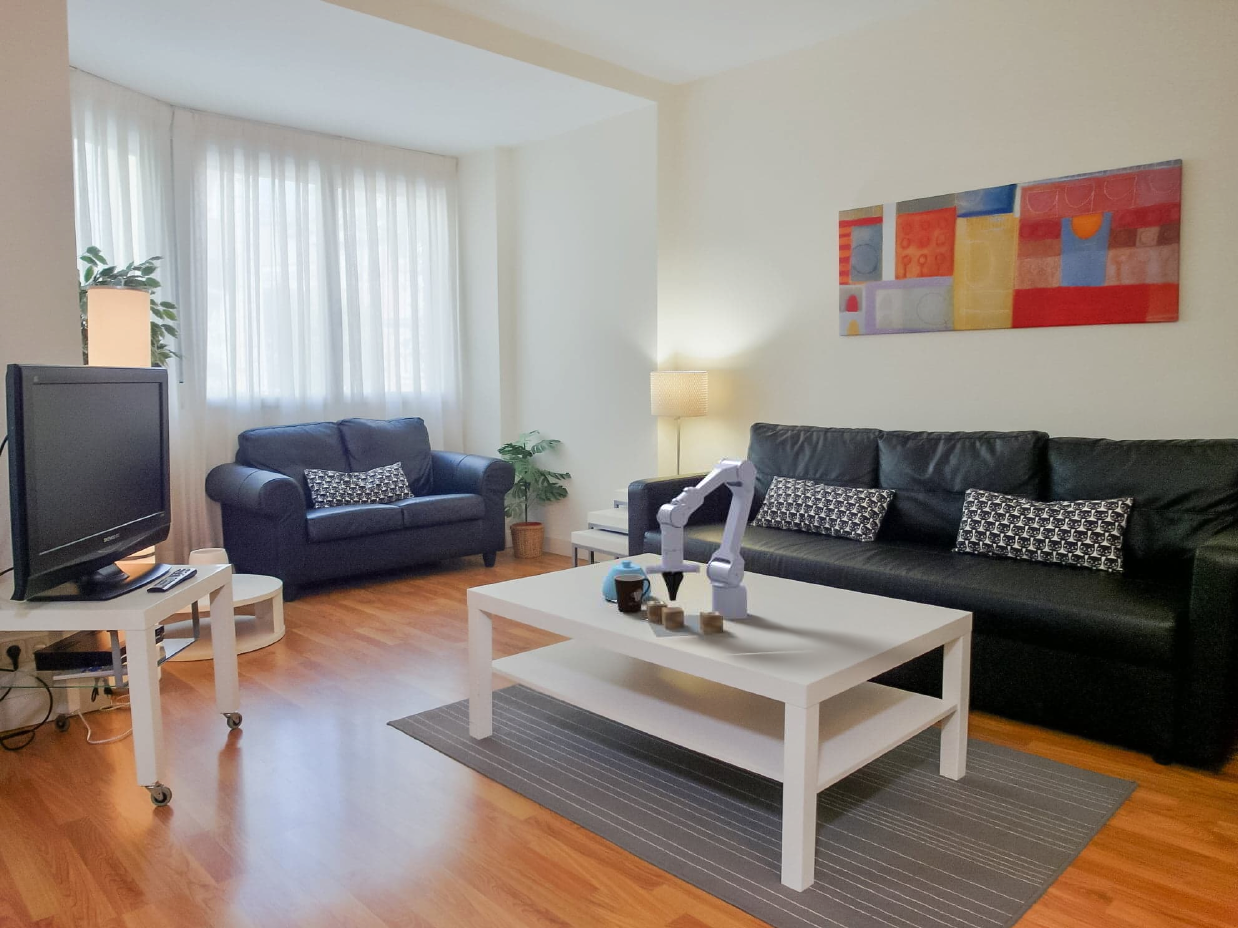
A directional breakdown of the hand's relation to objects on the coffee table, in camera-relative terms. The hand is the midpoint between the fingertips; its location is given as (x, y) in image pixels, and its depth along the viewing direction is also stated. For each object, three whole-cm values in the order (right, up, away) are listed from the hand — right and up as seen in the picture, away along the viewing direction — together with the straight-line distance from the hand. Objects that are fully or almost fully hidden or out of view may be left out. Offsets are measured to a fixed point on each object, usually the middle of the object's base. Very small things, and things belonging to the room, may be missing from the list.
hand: (672, 599), depth 236 cm
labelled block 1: (-4, -7, +8) cm, 11 cm away
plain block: (0, -7, +1) cm, 7 cm away
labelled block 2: (+10, -7, -5) cm, 13 cm away
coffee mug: (-10, -6, +18) cm, 22 cm away
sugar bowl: (-12, -5, +35) cm, 38 cm away
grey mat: (+3, -7, +1) cm, 8 cm away
